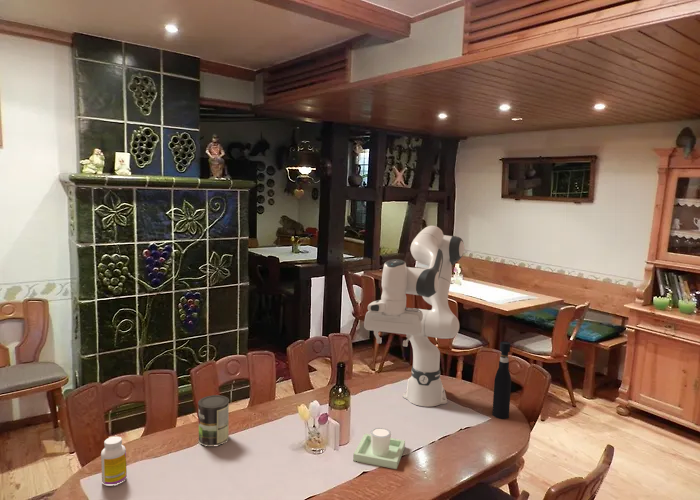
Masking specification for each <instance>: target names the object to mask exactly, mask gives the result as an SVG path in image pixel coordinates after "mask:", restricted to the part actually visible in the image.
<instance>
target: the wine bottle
mask: <svg viewBox="0 0 700 500" xmlns="http://www.w3.org/2000/svg"><path fill="white" fill-rule="evenodd" d="M499 351H500V352H501V354H500V357H499V361H498V368H497V370H496V373H495V376H494V379H493V381H494V384H493V396H492V397H493V399H492V416H493V417H494V418H496V419H500V420H505V419H509V417H510V403H511V391H512V378H511V372H510V369H509V368H510V362H509V359H510V357H509V352H511V342H510V341H504V340H503V341H500V344H499Z"/></svg>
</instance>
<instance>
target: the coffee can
mask: <svg viewBox="0 0 700 500" xmlns="http://www.w3.org/2000/svg"><path fill="white" fill-rule="evenodd" d="M229 402H230V399H229V397H227V396H225V395H219V394H218V395H217V394H213V395H212V394H211V395H207V396H203V397H202V398H200V399H199V400H198V402H197V405H198V406H197V407H198V443H199V445H201V444H203V445H207V446H214V445H220V444H223V443H224V444H226V443H227V442H228V441H229V439H228V438H229V416H230V415H229V412H230V410H229V405H230V404H229ZM227 440H228V441H227ZM226 441H227V442H226ZM225 442H226V443H225ZM224 444H223V445H224ZM220 446H221V445H220Z"/></svg>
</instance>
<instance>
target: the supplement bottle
mask: <svg viewBox="0 0 700 500" xmlns="http://www.w3.org/2000/svg"><path fill="white" fill-rule="evenodd" d="M103 443H104V444H103V445H104V448H103V449H102V450H101V453H100V460H101V461H100V465H101V469H100V470H101V483H102V482H103V483H104V484H117V483H120V482H122V481H124V480H125V479H126V480H127V478H126V477H128V476H127V473H128V472H127V449H126V446H125V445H123V438H122V437H121V436H110V437H108V438H106V439H105V440H104V442H103ZM126 480H125V481H126ZM125 481H124V482H125Z"/></svg>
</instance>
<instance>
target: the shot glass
mask: <svg viewBox="0 0 700 500" xmlns="http://www.w3.org/2000/svg"><path fill="white" fill-rule="evenodd" d="M370 434H371V448H372V453H373V454H374V455H376V456H386V455H388V452H389V445H390V438H392V437H391V436H392V434H391V431H390V430H389V429H388V428H383V427H375V428H372V429H371V430H370Z"/></svg>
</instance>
